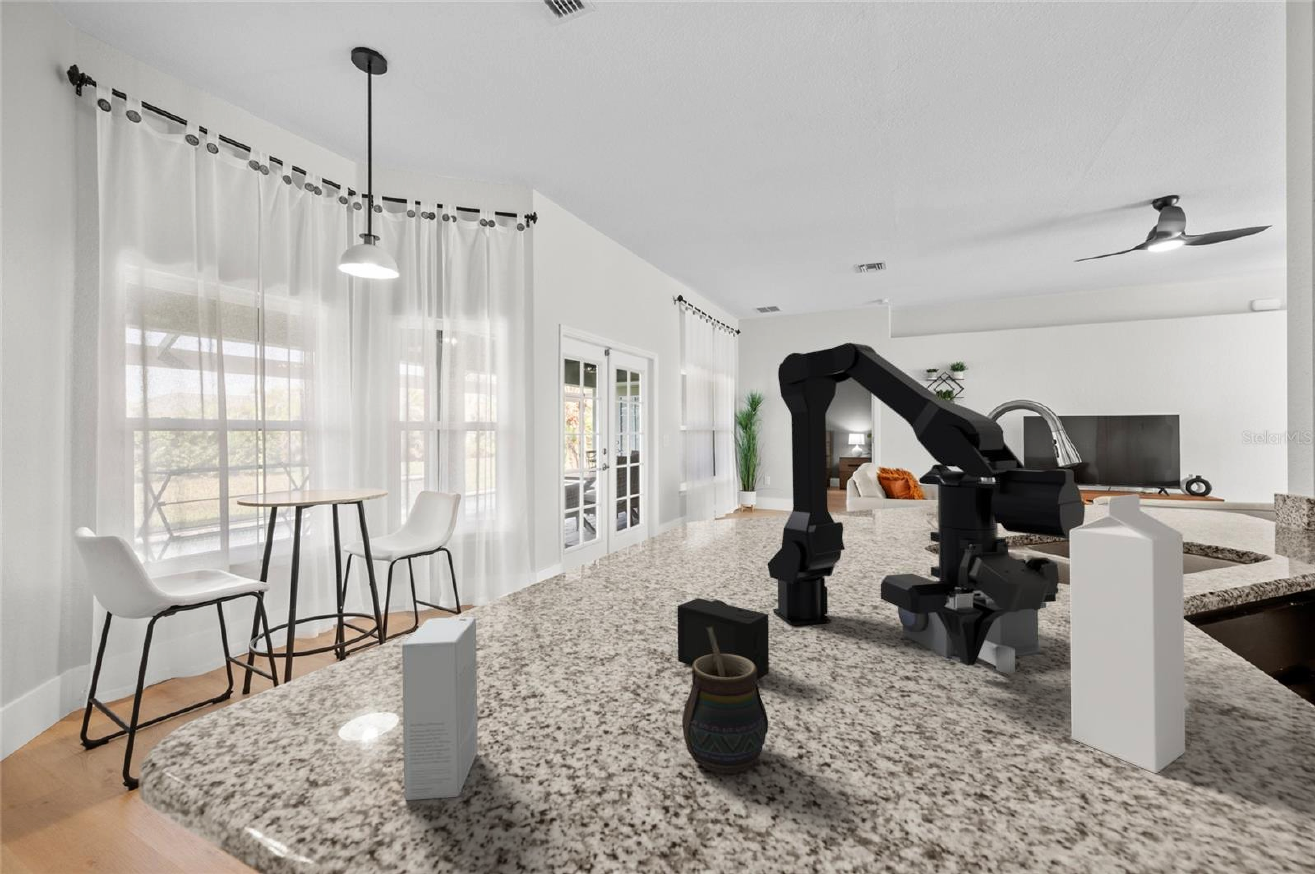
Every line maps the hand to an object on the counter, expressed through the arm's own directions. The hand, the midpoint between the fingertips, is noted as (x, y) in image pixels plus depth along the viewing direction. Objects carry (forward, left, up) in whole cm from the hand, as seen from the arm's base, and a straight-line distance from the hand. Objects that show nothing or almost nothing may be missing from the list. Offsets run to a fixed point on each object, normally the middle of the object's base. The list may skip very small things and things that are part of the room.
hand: (968, 664), depth 61 cm
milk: (+3, -15, -2) cm, 15 cm away
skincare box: (-55, -5, -2) cm, 55 cm away
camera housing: (+8, +9, -2) cm, 12 cm away
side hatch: (+6, +1, -1) cm, 6 cm away
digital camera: (-25, +10, -2) cm, 27 cm away
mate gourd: (-32, -8, -2) cm, 33 cm away
